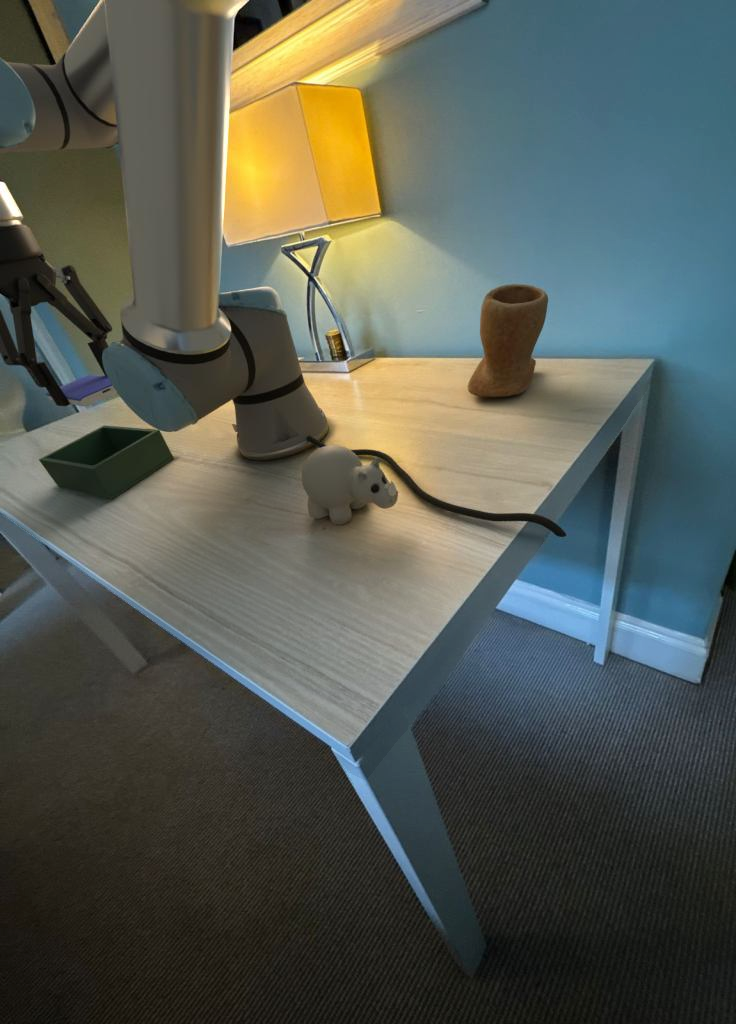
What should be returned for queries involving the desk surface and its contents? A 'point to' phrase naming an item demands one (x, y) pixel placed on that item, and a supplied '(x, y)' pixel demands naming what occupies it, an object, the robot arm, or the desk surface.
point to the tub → (108, 460)
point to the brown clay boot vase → (508, 339)
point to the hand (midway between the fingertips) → (90, 392)
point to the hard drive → (87, 390)
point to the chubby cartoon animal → (344, 484)
